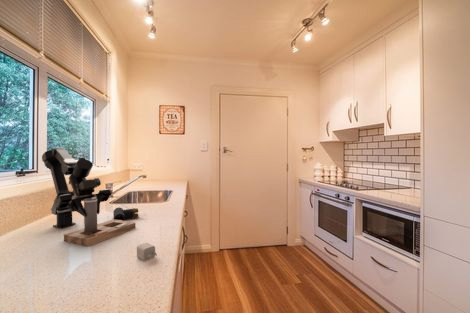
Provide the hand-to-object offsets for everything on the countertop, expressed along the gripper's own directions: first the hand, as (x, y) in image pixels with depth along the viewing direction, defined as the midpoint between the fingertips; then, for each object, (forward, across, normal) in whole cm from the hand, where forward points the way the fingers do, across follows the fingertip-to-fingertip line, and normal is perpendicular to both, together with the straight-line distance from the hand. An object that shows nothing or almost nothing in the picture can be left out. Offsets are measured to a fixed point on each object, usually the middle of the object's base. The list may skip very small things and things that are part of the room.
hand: (92, 214), depth 90 cm
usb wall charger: (+30, +2, -17) cm, 35 cm away
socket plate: (+5, +5, +8) cm, 11 cm away
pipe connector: (-4, +23, +18) cm, 29 cm away
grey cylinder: (+4, 0, +6) cm, 7 cm away
